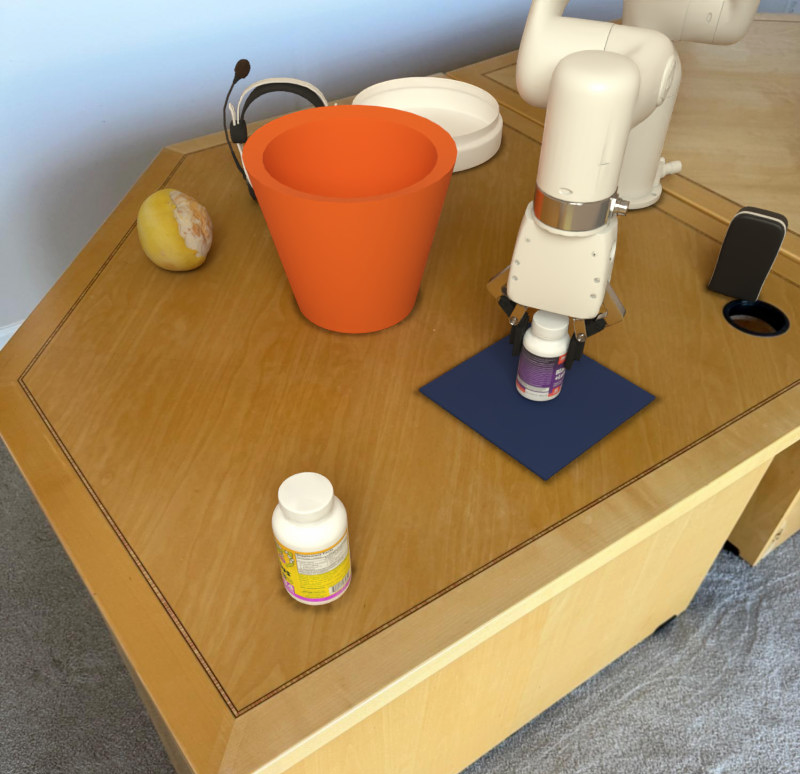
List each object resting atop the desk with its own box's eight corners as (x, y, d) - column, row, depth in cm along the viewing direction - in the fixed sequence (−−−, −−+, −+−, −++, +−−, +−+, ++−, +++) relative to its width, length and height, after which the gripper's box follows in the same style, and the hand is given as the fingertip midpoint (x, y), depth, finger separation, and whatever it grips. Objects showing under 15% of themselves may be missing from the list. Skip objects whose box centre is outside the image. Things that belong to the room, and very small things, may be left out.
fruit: (159, 292, 104) (141, 223, 97) (138, 254, 110) (119, 186, 103) (230, 274, 107) (218, 205, 100) (206, 238, 113) (192, 170, 106)
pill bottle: (559, 405, 89) (574, 336, 81) (513, 399, 89) (524, 329, 82) (562, 376, 92) (577, 307, 84) (517, 370, 93) (528, 301, 85)
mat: (529, 324, 100) (529, 322, 100) (655, 399, 91) (655, 396, 91) (418, 391, 92) (418, 388, 91) (545, 481, 82) (546, 478, 82)
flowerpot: (484, 315, 101) (500, 166, 86) (319, 379, 93) (304, 225, 78) (386, 231, 115) (385, 89, 99) (234, 280, 106) (207, 133, 91)
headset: (232, 212, 118) (208, 70, 103) (238, 187, 123) (216, 48, 108) (343, 211, 118) (335, 70, 103) (344, 187, 123) (337, 48, 108)
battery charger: (762, 291, 105) (796, 212, 97) (755, 305, 103) (789, 226, 94) (712, 277, 108) (740, 198, 99) (704, 290, 105) (733, 211, 97)
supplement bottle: (283, 555, 76) (267, 464, 66) (350, 550, 76) (343, 460, 66) (283, 611, 72) (264, 523, 62) (353, 606, 72) (346, 518, 62)
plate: (532, 149, 132) (537, 115, 128) (404, 190, 123) (405, 156, 118) (440, 95, 146) (442, 64, 142) (319, 129, 137) (317, 96, 133)
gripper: (669, 202, 73) (625, 355, 87) (499, 169, 77) (483, 320, 91) (655, 240, 69) (610, 395, 83) (475, 203, 73) (462, 356, 87)
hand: (544, 354), depth 87 cm, fingers closed on pill bottle, 5 cm apart
